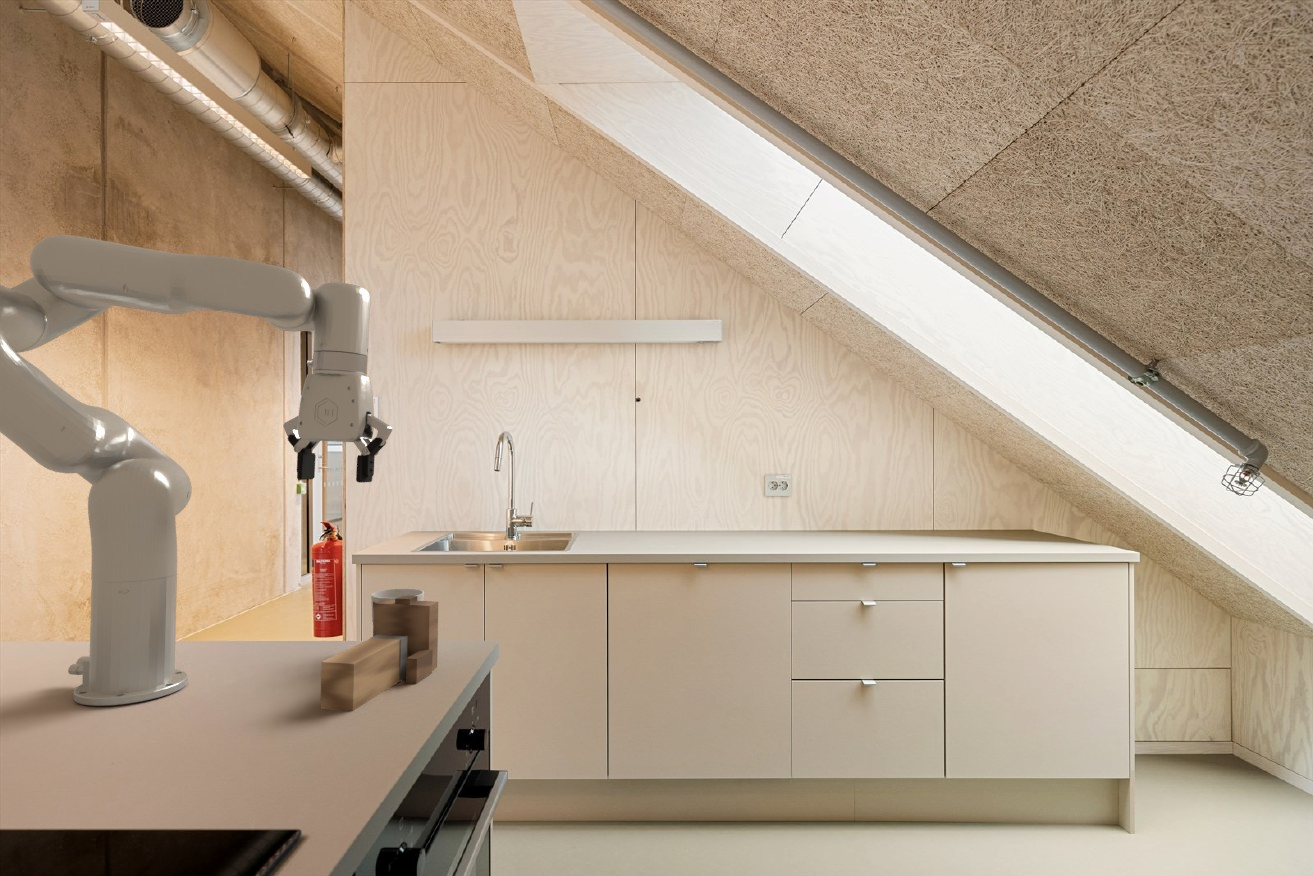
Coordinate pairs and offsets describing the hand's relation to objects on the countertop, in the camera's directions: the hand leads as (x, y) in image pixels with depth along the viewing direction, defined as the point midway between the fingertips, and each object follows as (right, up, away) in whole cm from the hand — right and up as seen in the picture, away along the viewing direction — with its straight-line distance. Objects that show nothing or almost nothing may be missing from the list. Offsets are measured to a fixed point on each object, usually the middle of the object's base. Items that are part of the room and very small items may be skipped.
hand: (334, 480), depth 109 cm
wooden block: (+8, -29, -9) cm, 31 cm away
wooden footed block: (+9, -29, 0) cm, 30 cm away
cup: (+6, -29, +9) cm, 31 cm away
